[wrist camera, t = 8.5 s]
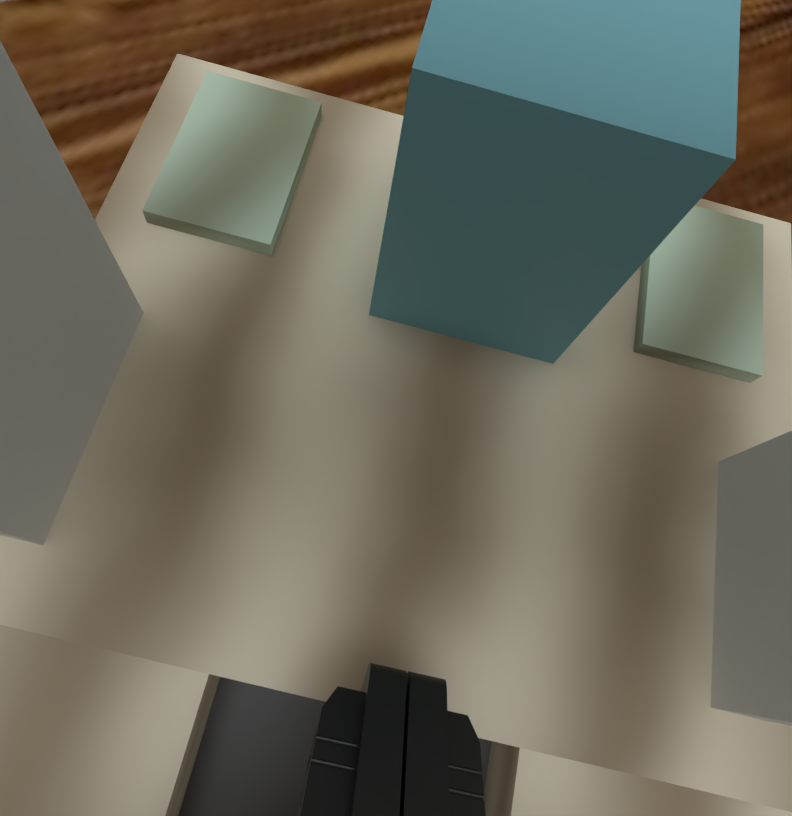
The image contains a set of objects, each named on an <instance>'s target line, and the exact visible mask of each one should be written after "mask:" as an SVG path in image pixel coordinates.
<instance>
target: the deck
mask: <svg viewBox="0 0 792 816" xmlns="http://www.w3.org/2000/svg"><path fill="white" fill-rule="evenodd" d="M403 117H404V116H401V115H397V114H394V113H390V112H387V111H383V110H379V109H376V108H372V107H369V106H365V105H361V104H358V103H354V102H351V101H347V100H343V99H340V98H336V97H332V96H329V95H325V94H322V93H318V92H314V91H311V90H307V89H304V88H300V87H296V86H293V85H289V84H286V83H282V82H278V81H275V80H271V79H267V78H264V77H260V76H257V75H253V74H249V73H246V72H242V71H239V70H235V69H231V68H228V67H224V66H221V65H217V64H213V63H210V62H206V61H203V60H199V59H195V58H192V57H188V56H184V55H181V54H177V56H176V58H175V60H174V62H173V64H172V66H171V68H170V70H169V72H168V74H167V76H166V78H165V80H164V82H163V84H162V86H161V88H160V90H159V92H158V94H157V96H156V98H155V100H154V102H153V104H152V106H151V108H150V110H149V112H148V114H147V116H146V118H145V120H144V122H143V124H142V126H141V128H140V130H139V132H138V134H137V136H136V138H135V140H134V142H133V144H132V146H131V148H130V150H129V152H128V154H127V156H126V158H125V161H124V163H123V165H122V167H121V169H120V171H119V173H118V175H117V177H116V179H115V181H114V183H113V185H112V187H111V189H110V191H109V193H108V195H107V197H106V199H105V201H104V203H103V205H102V207H101V209H100V211H99V213H98V215H97V217H96V219H95V222H96V223H97V225H98V227H99V229H100V231H101V233H102V235H103V237H104V239H105V241H106V242H107V244H108V246H109V248H110V250H111V252H112V254H113V256H114V258H115V259H116V261H117V263H118V265H119V267H120V269H121V271H122V273H123V275H124V277H125V278H126V280H127V282H128V284H129V286H130V288H131V290H132V292H133V294H134V296H135V297H136V299H137V301H138V303H139V305H140V307H141V309H142V311H143V314H142V317H141V319H140V321H139V324H138V326H137V328H136V331H135V333H134V335H133V338H132V340H131V342H130V345H129V347H128V349H127V352H126V354H125V356H124V359H123V361H122V363H121V365H120V368H119V370H118V372H117V375H116V377H115V379H114V382H113V384H112V386H111V389H110V391H109V393H108V396H107V398H106V400H105V403H104V405H103V407H102V410H101V412H100V414H99V417H98V419H97V421H96V424H95V426H94V428H93V430H92V433H91V435H90V437H89V440H88V442H87V444H86V447H85V449H84V451H83V454H82V456H81V458H80V461H79V463H78V465H77V468H76V470H75V472H74V475H73V477H72V479H71V482H70V484H69V486H68V489H67V491H66V493H65V495H64V498H63V500H62V502H61V505H60V507H59V509H58V512H57V514H56V516H55V519H54V521H53V523H52V526H51V528H50V530H49V533H48V535H47V537H46V540H45V542H44V544H43V545H39V544H35V543H31V542H27V541H23V540H18V539H14V538H10V537H6V536H2V535H0V816H296V815H297V810H298V805H299V800H300V796H301V791H302V786H303V781H304V776H305V772H306V767H307V762H308V758H309V754H310V750H311V747H312V743H313V739H314V735H315V732H316V728H317V724H318V720H319V717H320V713H321V709H322V707H323V705H324V704H325V703H326V701H327V700H328V698H329V697H330V696H331V694H332V693H333V692H334V690H335V689H336V688H337V686H339V687H343V688H348V689H352V690H357V691H361V688H362V685H363V681H364V678H365V675H366V671H367V668H368V665H369V663H374V664H378V665H383V666H387V667H391V668H396V669H400V670H405V671H406V672H407V673H408V671H410V672H414V673H419V674H423V675H428V676H432V677H436V678H441V679H445V680H446V684H447V711H451V712H455V713H460V714H464V715H468V717H469V719H470V721H471V723H472V726H473V728H474V730H475V732H476V734H477V736H478V739H479V741H480V747H481V760H482V777H483V788H484V796H483V801H484V802H485V816H792V726H790V725H785V724H780V723H775V722H769V721H764V720H760V719H756V718H752V717H748V716H743V715H739V714H735V713H731V712H727V711H723V710H719V709H715V708H711V677H712V646H713V615H714V584H715V553H716V521H717V490H718V462H719V461H721V460H723V459H726V458H728V457H730V456H733V455H735V454H738V453H740V452H742V451H745V450H747V449H749V448H752V447H754V446H756V445H759V444H761V443H764V442H766V441H768V440H771V439H773V438H775V437H778V436H780V435H782V434H785V433H787V432H789V431H792V262H791V223H787V222H784V221H780V220H777V219H773V218H769V217H766V216H762V215H758V214H755V213H751V212H748V211H744V210H740V209H737V208H733V207H730V206H726V205H722V204H719V203H715V202H712V201H708V200H704V199H700V200H699V201H698V202H697V203H696V204H695V206H694V207H693V208H692V209H691V210H690V211H689V212H688V213H687V215H686V216H685V217H684V218H683V219H682V220H681V221H680V222H679V223H678V225H677V226H676V227H675V228H674V229H673V230H672V231H671V232H670V234H669V235H668V236H667V237H666V238H665V239H664V240H663V241H662V243H661V244H660V245H659V246H658V247H657V248H656V249H655V250H654V251H653V253H652V254H651V255H650V256H649V257H648V258H647V259H646V260H645V262H644V263H643V264H642V265H641V266H640V267H639V268H638V269H637V271H636V272H635V273H634V274H633V275H632V276H631V277H630V278H629V280H628V281H627V282H626V283H625V284H624V285H623V286H622V287H621V288H620V290H619V291H618V292H617V293H616V294H615V295H614V296H613V297H612V299H611V300H610V301H609V302H608V303H607V304H606V305H605V306H604V308H603V309H602V310H601V311H600V312H599V313H598V314H597V315H596V317H595V318H594V319H593V320H592V321H591V322H590V323H589V324H588V325H587V327H586V328H585V329H584V330H583V331H582V332H581V333H580V334H579V336H578V337H577V338H576V339H575V340H574V341H573V342H572V343H571V345H570V346H569V347H568V348H567V349H566V350H565V351H564V352H563V354H562V355H561V356H560V357H559V358H558V359H557V360H556V361H555V362H554V364H551V363H548V362H544V361H540V360H536V359H533V358H529V357H525V356H521V355H518V354H514V353H510V352H506V351H503V350H499V349H495V348H491V347H488V346H484V345H480V344H476V343H473V342H469V341H465V340H461V339H458V338H454V337H450V336H446V335H443V334H439V333H435V332H431V331H428V330H424V329H420V328H416V327H413V326H409V325H405V324H401V323H398V322H394V321H390V320H386V319H383V318H379V317H375V316H371V315H369V310H370V305H371V299H372V293H373V288H374V282H375V276H376V270H377V265H378V259H379V253H380V248H381V242H382V236H383V231H384V225H385V219H386V214H387V208H388V202H389V196H390V191H391V185H392V179H393V174H394V168H395V162H396V157H397V151H398V145H399V140H400V134H401V128H402V123H403Z"/></svg>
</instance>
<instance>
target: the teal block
mask: <svg viewBox="0 0 792 816" xmlns="http://www.w3.org/2000/svg"><path fill="white" fill-rule="evenodd" d="M740 2H741V0H432V4H431V7H430V10H429V13H428V17H427V20H426V23H425V27H424V30H423V33H422V37H421V40H420V43H419V47H418V50H417V53H416V57H415V60H414V63H413V67H412V71H411V77H410V83H409V88H408V94H407V100H406V105H405V111H404V117H403V123H402V128H401V134H400V140H399V145H398V151H397V157H396V162H395V168H394V174H393V179H392V185H391V191H390V196H389V202H388V208H387V214H386V219H385V225H384V231H383V236H382V242H381V248H380V253H379V259H378V265H377V270H376V276H375V282H374V288H373V293H372V299H371V305H370V310H369V315H371V316H375V317H379V318H383V319H386V320H390V321H394V322H398V323H401V324H405V325H409V326H413V327H416V328H420V329H424V330H428V331H431V332H435V333H439V334H443V335H446V336H450V337H454V338H458V339H461V340H465V341H469V342H473V343H476V344H480V345H484V346H488V347H491V348H495V349H499V350H503V351H506V352H510V353H514V354H518V355H521V356H525V357H529V358H533V359H536V360H540V361H544V362H548V363H551V364H554V362H555V361H556V360H557V359H558V358H559V357H560V356H561V355H562V354H563V352H564V351H565V350H566V349H567V348H568V347H569V346H570V345H571V343H572V342H573V341H574V340H575V339H576V338H577V337H578V336H579V334H580V333H581V332H582V331H583V330H584V329H585V328H586V327H587V325H588V324H589V323H590V322H591V321H592V320H593V319H594V318H595V317H596V315H597V314H598V313H599V312H600V311H601V310H602V309H603V308H604V306H605V305H606V304H607V303H608V302H609V301H610V300H611V299H612V297H613V296H614V295H615V294H616V293H617V292H618V291H619V290H620V288H621V287H622V286H623V285H624V284H625V283H626V282H627V281H628V280H629V278H630V277H631V276H632V275H633V274H634V273H635V272H636V271H637V269H638V268H639V267H640V266H641V265H642V264H643V263H644V262H645V260H646V259H647V258H648V257H649V256H650V255H651V254H652V253H653V251H654V250H655V249H656V248H657V247H658V246H659V245H660V244H661V243H662V241H663V240H664V239H665V238H666V237H667V236H668V235H669V234H670V232H671V231H672V230H673V229H674V228H675V227H676V226H677V225H678V223H679V222H680V221H681V220H682V219H683V218H684V217H685V216H686V215H687V213H688V212H689V211H690V210H691V209H692V208H693V207H694V206H695V204H696V203H697V202H698V201H699V200H700V199H701V198H702V197H703V195H704V194H705V193H706V192H707V191H708V190H709V189H710V188H711V186H712V185H713V184H714V183H715V182H716V181H717V180H718V179H719V178H720V176H721V175H722V174H723V173H724V172H725V171H726V170H727V169H728V167H729V166H730V165H731V164H732V163H733V162H734V161H735V160H736V130H737V98H738V66H739V34H740Z"/></svg>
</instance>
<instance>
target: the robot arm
mask: <svg viewBox="0 0 792 816" xmlns="http://www.w3.org/2000/svg"><path fill="white" fill-rule="evenodd" d="M483 796H484V788H483V777H482V760H481V747H480V741H479V739H478V736H477V734H476V732H475V730H474V728H473V726H472V723H471V721H470V719H469V717H468V715H464V714H460V713H455V712H451V711H447V684H446V680H445V679H441V678H436V677H432V676H428V675H423V674H419V673H414V672H410V671H408V673H407V672H406V671H405V670H400V669H396V668H391V667H387V666H383V665H378V664H374V663H369V665H368V668H367V671H366V675H365V678H364V681H363V685H362V688H361V691H357V690H352V689H348V688H343V687H339V686H337V688H336V689H335V690H334V692H333V693H332V694H331V696H330V697H329V698H328V700H327V701H326V703H325V704H324V705H323V707H322V709H321V713H320V717H319V720H318V724H317V728H316V732H315V735H314V739H313V743H312V747H311V750H310V754H309V758H308V762H307V767H306V772H305V776H304V781H303V786H302V791H301V796H300V800H299V805H298V810H297V815H296V816H485V802H484V801H483Z"/></svg>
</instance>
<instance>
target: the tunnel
mask: <svg viewBox="0 0 792 816" xmlns="http://www.w3.org/2000/svg"><path fill="white" fill-rule="evenodd" d="M142 314H143V311H142V309H141V307H140V305H139V303H138V301H137V299H136V297H135V296H134V294H133V292H132V290H131V288H130V286H129V284H128V282H127V280H126V278H125V277H124V275H123V273H122V271H121V269H120V267H119V265H118V263H117V261H116V259H115V258H114V256H113V254H112V252H111V250H110V248H109V246H108V244H107V242H106V241H105V239H104V237H103V235H102V233H101V231H100V229H99V227H98V225H97V223H96V222H95V220H94V218H93V216H92V214H91V212H90V210H89V208H88V206H87V204H86V203H85V201H84V199H83V197H82V195H81V193H80V191H79V189H78V187H77V186H76V184H75V182H74V180H73V178H72V176H71V174H70V172H69V170H68V168H67V167H66V165H65V163H64V161H63V159H62V157H61V155H60V153H59V151H58V149H57V148H56V146H55V144H54V142H53V140H52V138H51V136H50V134H49V132H48V130H47V129H46V127H45V125H44V123H43V121H42V119H41V117H40V115H39V113H38V112H37V110H36V108H35V106H34V104H33V102H32V100H31V98H30V96H29V94H28V93H27V91H26V89H25V87H24V85H23V83H22V81H21V79H20V77H19V75H18V74H17V72H16V70H15V68H14V66H13V64H12V62H11V60H10V58H9V57H8V55H7V53H6V51H5V49H4V47H3V45H2V43H1V41H0V535H2V536H6V537H10V538H14V539H18V540H23V541H27V542H31V543H35V544H39V545H43V544H44V542H45V540H46V537H47V535H48V533H49V530H50V528H51V526H52V523H53V521H54V519H55V516H56V514H57V512H58V509H59V507H60V505H61V502H62V500H63V498H64V495H65V493H66V491H67V489H68V486H69V484H70V482H71V479H72V477H73V475H74V472H75V470H76V468H77V465H78V463H79V461H80V458H81V456H82V454H83V451H84V449H85V447H86V444H87V442H88V440H89V437H90V435H91V433H92V430H93V428H94V426H95V424H96V421H97V419H98V417H99V414H100V412H101V410H102V407H103V405H104V403H105V400H106V398H107V396H108V393H109V391H110V389H111V386H112V384H113V382H114V379H115V377H116V375H117V372H118V370H119V368H120V365H121V363H122V361H123V359H124V356H125V354H126V352H127V349H128V347H129V345H130V342H131V340H132V338H133V335H134V333H135V331H136V328H137V326H138V324H139V321H140V319H141V317H142ZM711 708H715V709H719V710H723V711H727V712H731V713H735V714H739V715H743V716H748V717H752V718H756V719H760V720H764V721H769V722H775V723H780V724H785V725H790V726H792V431H789V432H787V433H785V434H782V435H780V436H778V437H775V438H773V439H771V440H768V441H766V442H764V443H761V444H759V445H756V446H754V447H752V448H749V449H747V450H745V451H742V452H740V453H738V454H735V455H733V456H730V457H728V458H726V459H723V460H721V461H719V462H718V490H717V521H716V553H715V584H714V615H713V646H712V677H711Z"/></svg>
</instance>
